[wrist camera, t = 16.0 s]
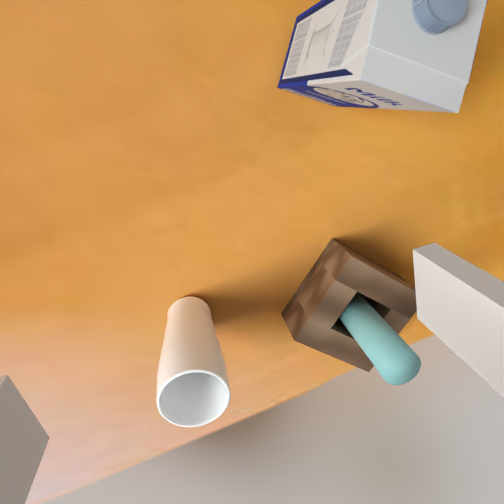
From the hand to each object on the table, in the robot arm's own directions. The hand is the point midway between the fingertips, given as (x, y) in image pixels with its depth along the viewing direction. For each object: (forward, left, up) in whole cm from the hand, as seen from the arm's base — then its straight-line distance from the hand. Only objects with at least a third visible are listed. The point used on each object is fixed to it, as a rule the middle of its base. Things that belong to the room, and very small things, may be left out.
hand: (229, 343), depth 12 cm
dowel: (+5, +25, -31) cm, 40 cm away
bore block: (+5, +25, -32) cm, 41 cm away
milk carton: (-16, +6, -32) cm, 36 cm away
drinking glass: (+16, +8, -32) cm, 37 cm away
